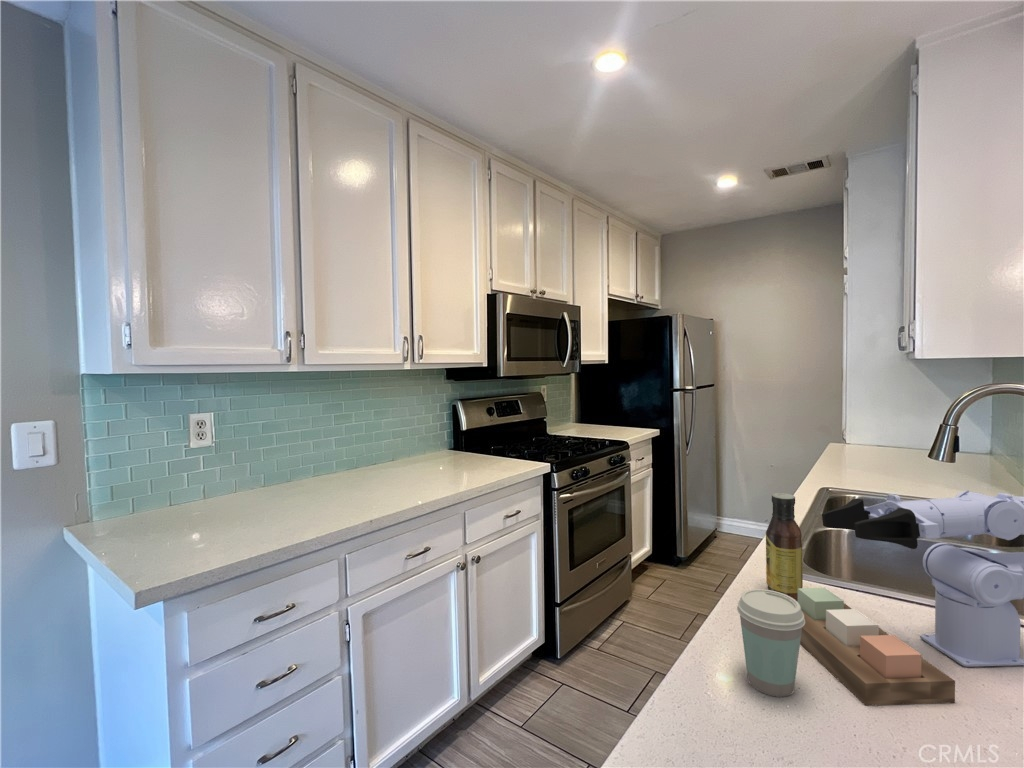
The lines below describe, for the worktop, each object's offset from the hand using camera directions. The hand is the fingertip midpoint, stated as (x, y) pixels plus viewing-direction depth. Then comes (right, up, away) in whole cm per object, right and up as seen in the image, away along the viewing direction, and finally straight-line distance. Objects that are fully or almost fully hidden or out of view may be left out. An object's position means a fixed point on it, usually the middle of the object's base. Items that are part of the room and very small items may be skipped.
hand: (839, 525), depth 75 cm
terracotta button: (+2, -19, -7) cm, 20 cm away
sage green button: (+2, -18, +8) cm, 20 cm away
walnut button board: (+2, -20, 0) cm, 20 cm away
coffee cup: (-14, -21, -6) cm, 26 cm away
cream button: (+2, -18, 0) cm, 18 cm away
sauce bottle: (+3, -20, +20) cm, 29 cm away
